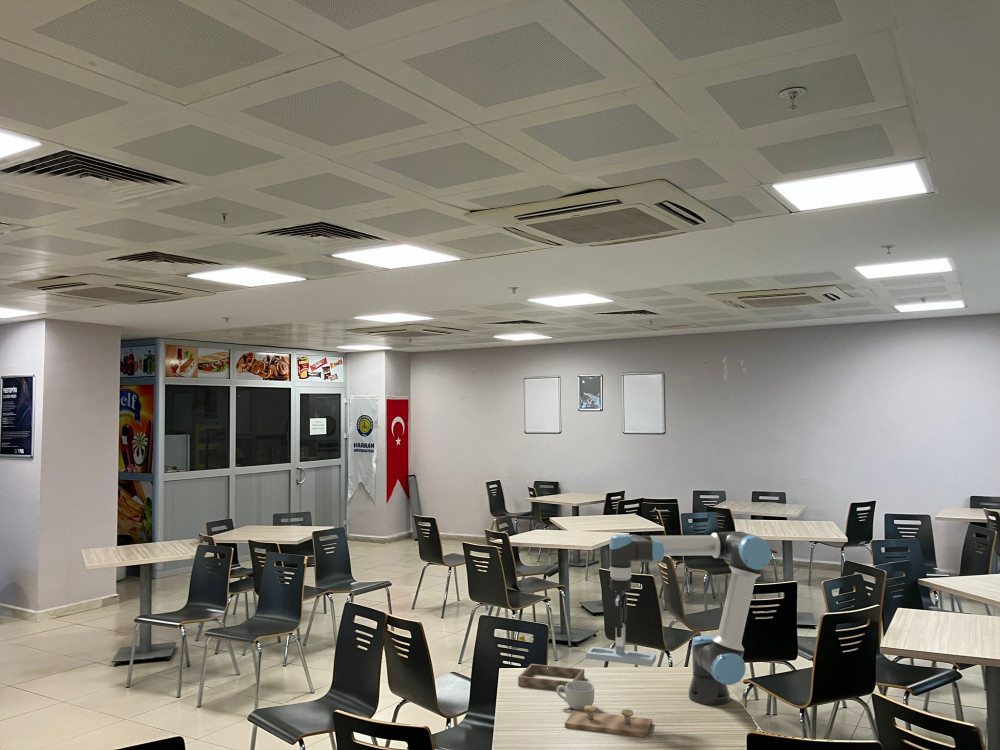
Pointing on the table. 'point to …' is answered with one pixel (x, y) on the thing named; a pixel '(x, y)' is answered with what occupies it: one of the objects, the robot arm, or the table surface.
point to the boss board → (609, 722)
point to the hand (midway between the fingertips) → (620, 644)
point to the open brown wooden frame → (529, 681)
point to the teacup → (578, 694)
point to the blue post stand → (621, 655)
